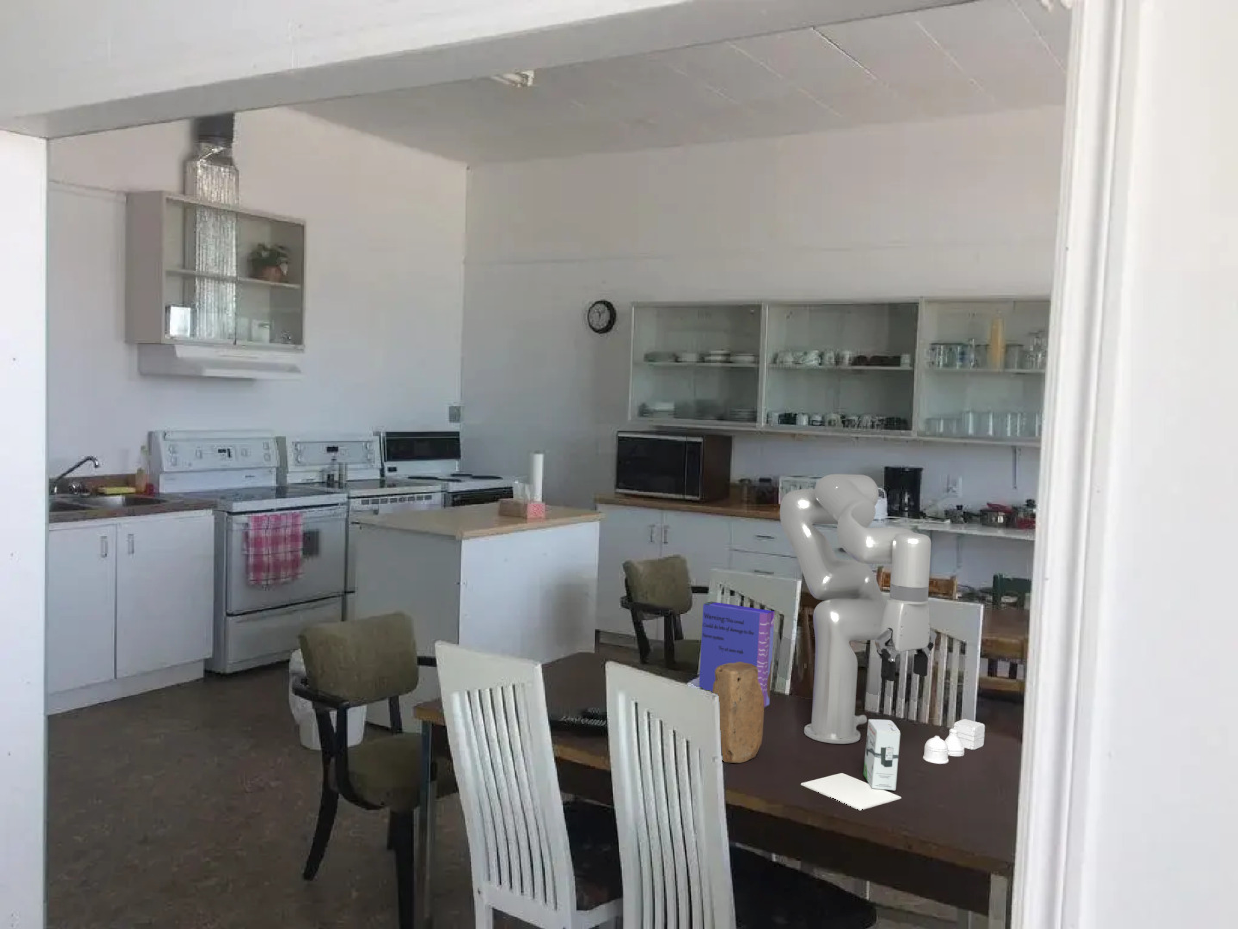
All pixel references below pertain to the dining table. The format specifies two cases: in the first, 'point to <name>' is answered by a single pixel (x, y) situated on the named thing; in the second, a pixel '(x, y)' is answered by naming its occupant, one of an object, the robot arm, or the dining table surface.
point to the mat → (850, 791)
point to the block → (739, 710)
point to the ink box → (882, 754)
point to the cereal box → (736, 642)
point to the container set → (955, 741)
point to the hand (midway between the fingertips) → (903, 677)
